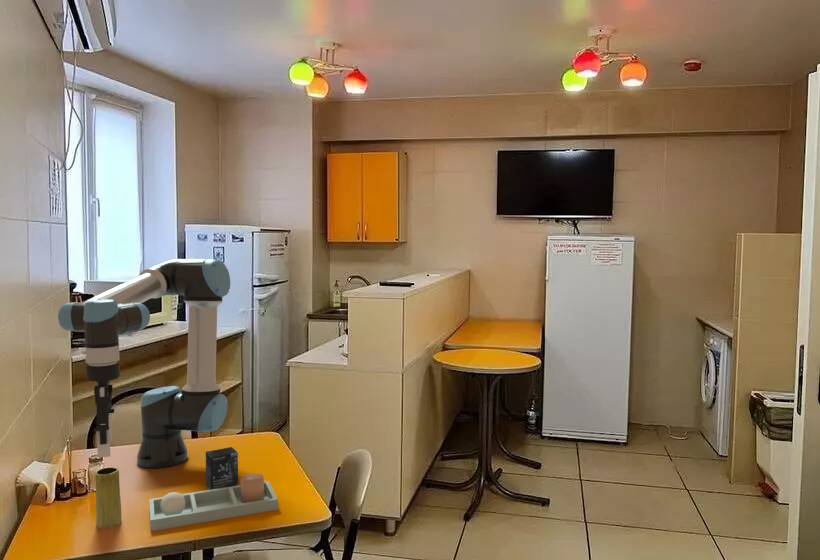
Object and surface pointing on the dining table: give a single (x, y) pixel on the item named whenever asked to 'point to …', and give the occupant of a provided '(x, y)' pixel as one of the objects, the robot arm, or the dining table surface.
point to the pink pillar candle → (252, 487)
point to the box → (221, 468)
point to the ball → (172, 504)
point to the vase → (108, 498)
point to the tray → (211, 507)
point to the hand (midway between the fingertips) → (105, 448)
